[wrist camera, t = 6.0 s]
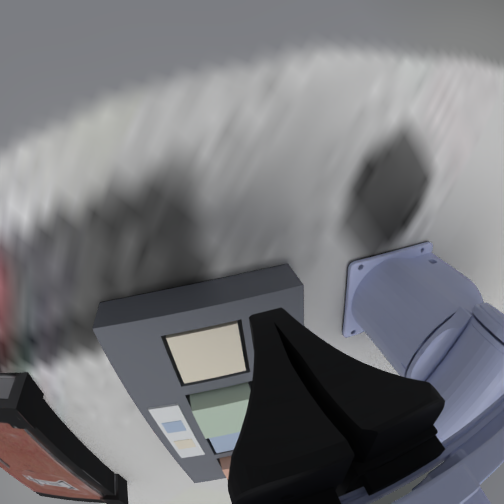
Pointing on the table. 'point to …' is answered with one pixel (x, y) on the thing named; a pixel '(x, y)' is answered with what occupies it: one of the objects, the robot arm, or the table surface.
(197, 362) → the sand key
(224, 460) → the terracotta key
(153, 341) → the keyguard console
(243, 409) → the sage key
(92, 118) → the table surface
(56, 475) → the book
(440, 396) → the robot arm
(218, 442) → the slate key
